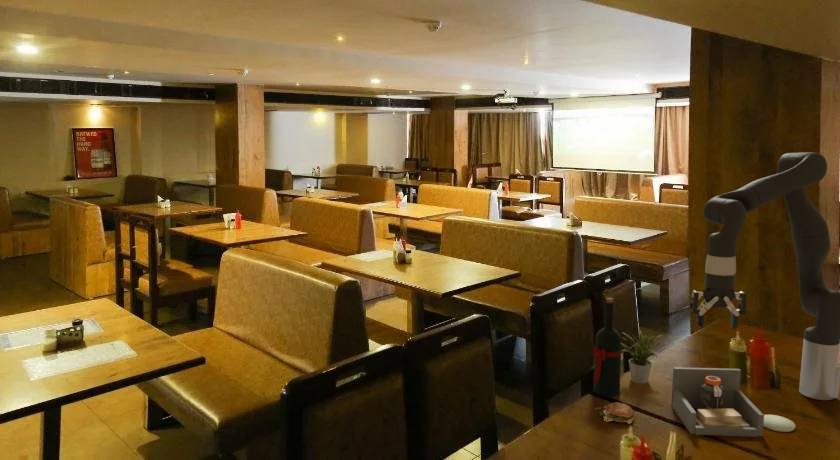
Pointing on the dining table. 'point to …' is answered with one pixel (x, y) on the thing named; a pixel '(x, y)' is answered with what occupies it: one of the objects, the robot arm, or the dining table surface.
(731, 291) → the robot arm
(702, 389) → the pill bottle
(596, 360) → the wine bottle
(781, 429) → the coaster
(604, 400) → the dining table surface
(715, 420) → the offcut upper
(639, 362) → the house plant
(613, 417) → the hamburger
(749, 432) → the frame
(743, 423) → the offcut lower
